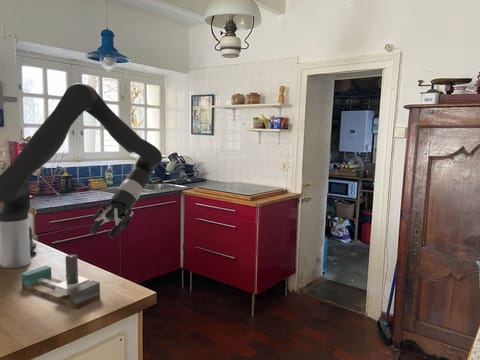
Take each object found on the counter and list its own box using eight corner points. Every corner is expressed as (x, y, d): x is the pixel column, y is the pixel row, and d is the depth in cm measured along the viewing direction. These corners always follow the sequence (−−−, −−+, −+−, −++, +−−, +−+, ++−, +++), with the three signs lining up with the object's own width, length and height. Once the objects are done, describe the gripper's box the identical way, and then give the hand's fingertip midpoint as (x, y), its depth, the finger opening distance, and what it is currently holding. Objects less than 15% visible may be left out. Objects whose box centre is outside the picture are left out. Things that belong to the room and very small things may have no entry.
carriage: (55, 291, 106) (53, 258, 105) (78, 281, 113) (77, 251, 112) (66, 295, 104) (64, 262, 103) (89, 285, 111) (88, 254, 110)
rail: (22, 288, 115) (21, 273, 114) (46, 279, 122) (45, 265, 121) (77, 309, 102) (76, 292, 102) (100, 298, 109) (99, 282, 109)
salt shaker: (29, 257, 142) (27, 227, 141) (16, 255, 143) (14, 226, 142) (40, 252, 148) (39, 223, 146) (28, 250, 149) (26, 222, 147)
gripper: (106, 186, 126) (79, 225, 117) (136, 190, 119) (110, 232, 111) (118, 199, 131) (93, 237, 123) (148, 203, 124) (123, 244, 116)
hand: (101, 235), depth 117 cm, fingers open, 8 cm apart
